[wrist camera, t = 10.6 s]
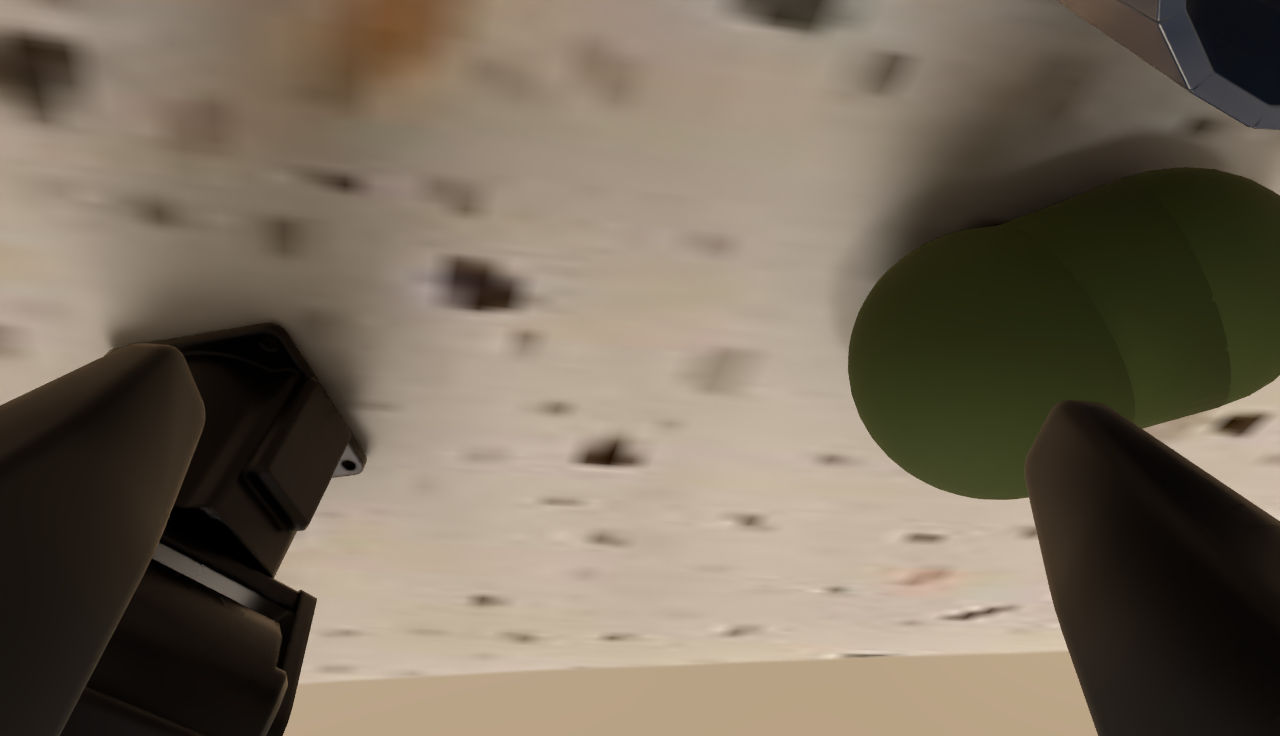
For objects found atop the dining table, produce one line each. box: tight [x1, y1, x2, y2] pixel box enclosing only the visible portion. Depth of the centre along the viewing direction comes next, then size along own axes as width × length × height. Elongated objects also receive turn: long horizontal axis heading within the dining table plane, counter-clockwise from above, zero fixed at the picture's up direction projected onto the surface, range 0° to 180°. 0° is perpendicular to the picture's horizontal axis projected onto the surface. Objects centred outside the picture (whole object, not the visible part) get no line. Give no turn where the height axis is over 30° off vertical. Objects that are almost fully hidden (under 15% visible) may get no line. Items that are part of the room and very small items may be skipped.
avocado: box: [848, 167, 1280, 500], centre depth 18 cm, size 11×7×7 cm, turn 118°
